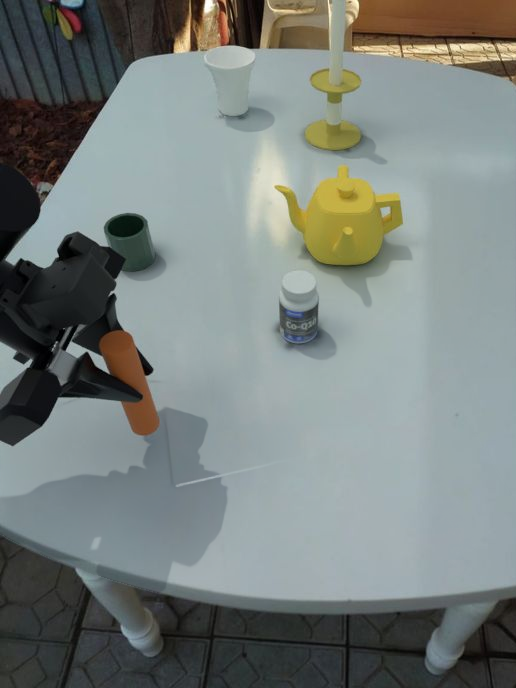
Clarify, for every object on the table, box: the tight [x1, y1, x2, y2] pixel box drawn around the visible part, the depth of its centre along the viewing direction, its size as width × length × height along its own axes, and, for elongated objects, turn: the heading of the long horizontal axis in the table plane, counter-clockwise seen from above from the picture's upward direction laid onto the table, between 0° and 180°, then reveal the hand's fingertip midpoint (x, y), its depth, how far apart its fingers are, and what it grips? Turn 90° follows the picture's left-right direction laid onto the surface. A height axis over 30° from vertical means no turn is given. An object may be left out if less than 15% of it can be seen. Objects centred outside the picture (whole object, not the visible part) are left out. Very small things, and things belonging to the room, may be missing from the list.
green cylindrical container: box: [103, 212, 156, 272], centre depth 79 cm, size 6×6×6 cm
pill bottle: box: [278, 270, 320, 344], centre depth 70 cm, size 5×5×8 cm
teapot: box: [274, 164, 404, 266], centre depth 81 cm, size 14×13×10 cm
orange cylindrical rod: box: [99, 330, 161, 437], centre depth 54 cm, size 3×3×12 cm
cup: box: [203, 45, 257, 117], centre depth 105 cm, size 9×9×10 cm
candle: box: [304, 0, 362, 151], centre depth 93 cm, size 10×10×27 cm
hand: (145, 386), depth 54 cm, fingers closed on orange cylindrical rod, 3 cm apart
